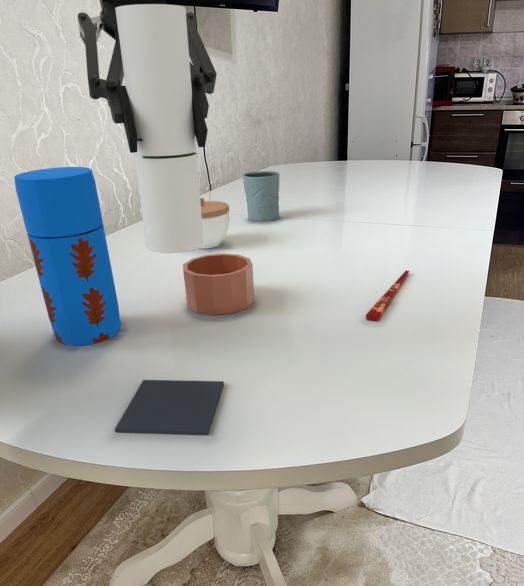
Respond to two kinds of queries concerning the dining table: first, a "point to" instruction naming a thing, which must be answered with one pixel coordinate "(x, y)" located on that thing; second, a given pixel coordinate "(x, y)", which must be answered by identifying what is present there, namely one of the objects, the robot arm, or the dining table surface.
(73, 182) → the thermos
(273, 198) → the grey-green textured cup
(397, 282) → the chopstick
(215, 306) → the crock
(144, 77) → the cylindrical container
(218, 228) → the lidded bowl
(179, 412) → the mat
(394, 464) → the dining table surface
